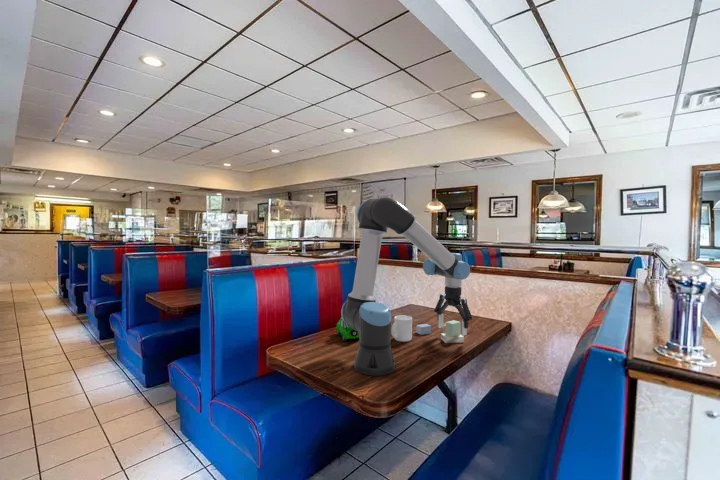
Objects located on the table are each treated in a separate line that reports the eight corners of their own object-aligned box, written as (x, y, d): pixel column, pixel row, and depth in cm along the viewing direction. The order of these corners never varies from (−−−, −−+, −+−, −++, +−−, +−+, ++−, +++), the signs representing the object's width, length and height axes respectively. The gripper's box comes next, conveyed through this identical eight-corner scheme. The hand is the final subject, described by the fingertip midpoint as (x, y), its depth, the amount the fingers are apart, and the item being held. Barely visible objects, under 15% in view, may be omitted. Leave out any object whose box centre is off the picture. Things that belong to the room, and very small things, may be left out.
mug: (397, 344, 154) (398, 322, 154) (384, 340, 160) (385, 318, 160) (415, 339, 162) (415, 317, 162) (402, 335, 168) (402, 314, 168)
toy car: (351, 331, 173) (351, 312, 173) (363, 342, 157) (363, 321, 156) (334, 333, 170) (335, 313, 170) (345, 344, 154) (345, 322, 154)
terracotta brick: (450, 334, 170) (450, 326, 170) (442, 333, 172) (442, 325, 172) (453, 331, 176) (453, 323, 175) (445, 330, 177) (445, 322, 177)
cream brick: (445, 343, 158) (445, 337, 158) (440, 339, 164) (440, 333, 164) (464, 343, 159) (464, 336, 159) (458, 339, 165) (458, 332, 165)
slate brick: (421, 335, 169) (421, 327, 169) (416, 333, 173) (416, 325, 172) (431, 333, 172) (431, 325, 172) (426, 331, 175) (426, 323, 175)
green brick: (452, 337, 158) (452, 324, 158) (445, 334, 162) (445, 322, 161) (460, 334, 162) (460, 322, 162) (453, 332, 165) (453, 320, 165)
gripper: (481, 289, 153) (480, 336, 154) (437, 281, 173) (436, 323, 174) (470, 291, 149) (469, 339, 149) (427, 283, 169) (426, 326, 169)
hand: (452, 331), depth 162 cm, fingers open, 13 cm apart
